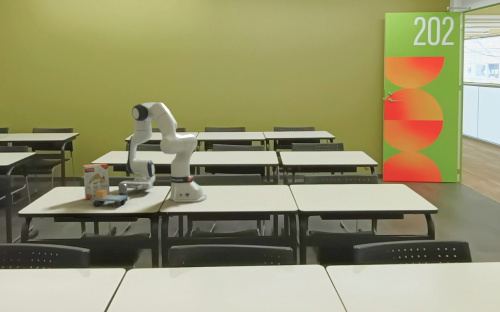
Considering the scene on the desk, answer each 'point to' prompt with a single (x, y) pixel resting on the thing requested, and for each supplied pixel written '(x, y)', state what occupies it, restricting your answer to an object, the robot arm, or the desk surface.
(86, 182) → the cracker box
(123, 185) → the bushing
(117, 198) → the cart
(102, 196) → the orange block
